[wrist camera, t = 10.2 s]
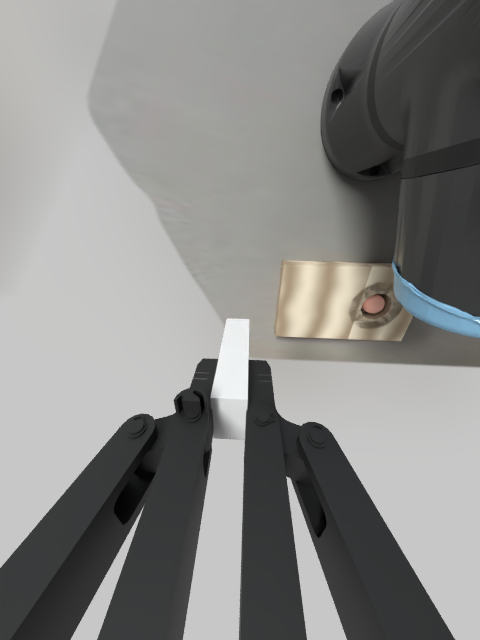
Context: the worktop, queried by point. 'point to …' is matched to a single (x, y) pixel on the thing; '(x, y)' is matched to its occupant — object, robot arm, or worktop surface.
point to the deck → (338, 301)
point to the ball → (373, 304)
